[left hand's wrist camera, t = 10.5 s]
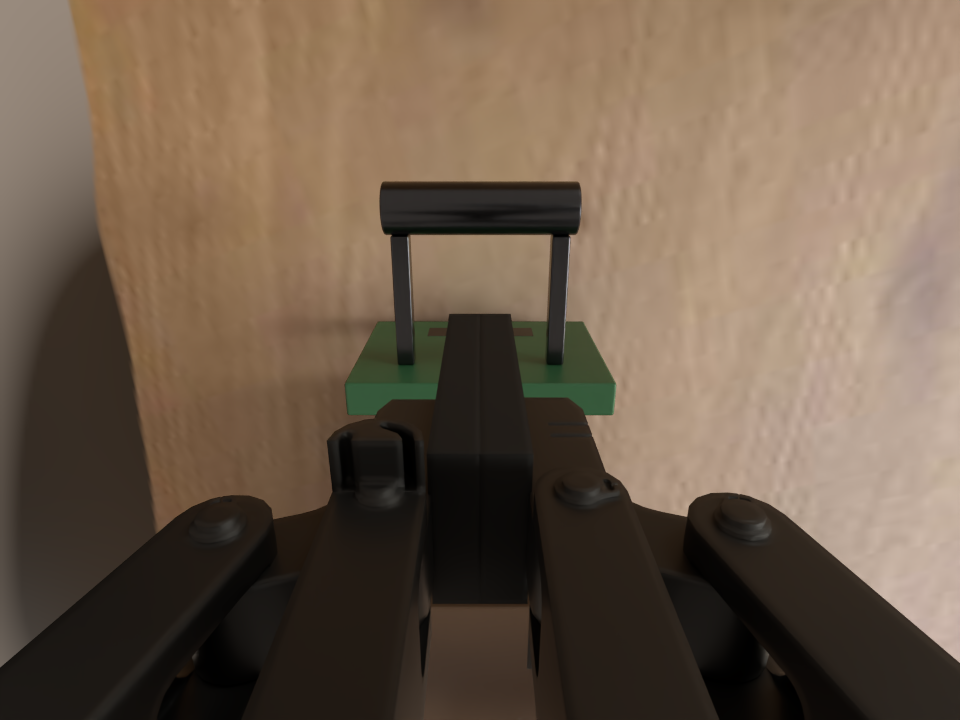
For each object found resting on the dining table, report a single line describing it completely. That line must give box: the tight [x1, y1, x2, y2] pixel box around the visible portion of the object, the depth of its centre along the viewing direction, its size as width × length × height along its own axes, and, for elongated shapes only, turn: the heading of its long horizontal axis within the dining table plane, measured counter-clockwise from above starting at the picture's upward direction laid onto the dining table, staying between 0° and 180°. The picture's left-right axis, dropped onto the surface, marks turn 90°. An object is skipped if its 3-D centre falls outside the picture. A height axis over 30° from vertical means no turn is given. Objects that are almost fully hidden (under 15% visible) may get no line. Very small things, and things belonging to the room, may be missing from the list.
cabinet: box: [423, 594, 537, 720], centre depth 29 cm, size 21×10×9 cm, turn 0°
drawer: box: [345, 182, 616, 415], centre depth 25 cm, size 26×9×7 cm, turn 0°
